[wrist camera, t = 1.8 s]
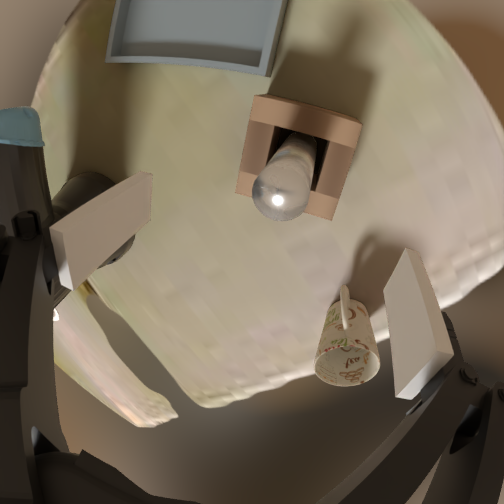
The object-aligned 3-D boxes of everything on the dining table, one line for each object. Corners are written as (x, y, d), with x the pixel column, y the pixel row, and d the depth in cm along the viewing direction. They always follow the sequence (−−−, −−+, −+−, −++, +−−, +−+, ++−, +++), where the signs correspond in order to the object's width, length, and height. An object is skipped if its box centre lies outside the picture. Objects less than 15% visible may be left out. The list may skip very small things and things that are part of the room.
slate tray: (119, 62, 30) (104, 62, 28) (138, -30, 23) (125, -35, 20) (270, 77, 29) (265, 76, 26) (295, -30, 21) (292, -40, 18)
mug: (324, 336, 45) (319, 388, 37) (308, 271, 40) (300, 323, 32) (376, 330, 43) (380, 383, 34) (370, 262, 37) (378, 314, 29)
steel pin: (281, 157, 33) (247, 212, 20) (288, 127, 31) (258, 160, 18) (312, 166, 33) (300, 227, 20) (320, 136, 31) (315, 176, 18)
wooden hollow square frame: (249, 175, 35) (235, 192, 30) (266, 94, 30) (254, 95, 25) (331, 199, 34) (331, 220, 29) (356, 118, 29) (362, 124, 24)
